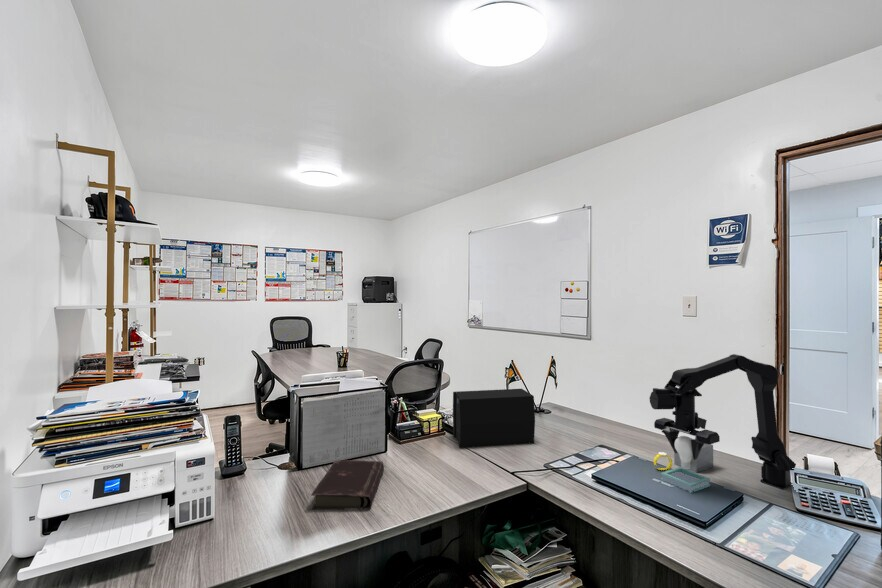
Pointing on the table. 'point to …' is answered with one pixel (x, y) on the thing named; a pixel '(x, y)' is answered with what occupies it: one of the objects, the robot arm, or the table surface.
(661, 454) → the watch
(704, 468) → the unit
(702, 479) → the tray
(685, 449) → the lightbulb
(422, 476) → the table surface
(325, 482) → the diary
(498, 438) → the uninterruptible power supply
